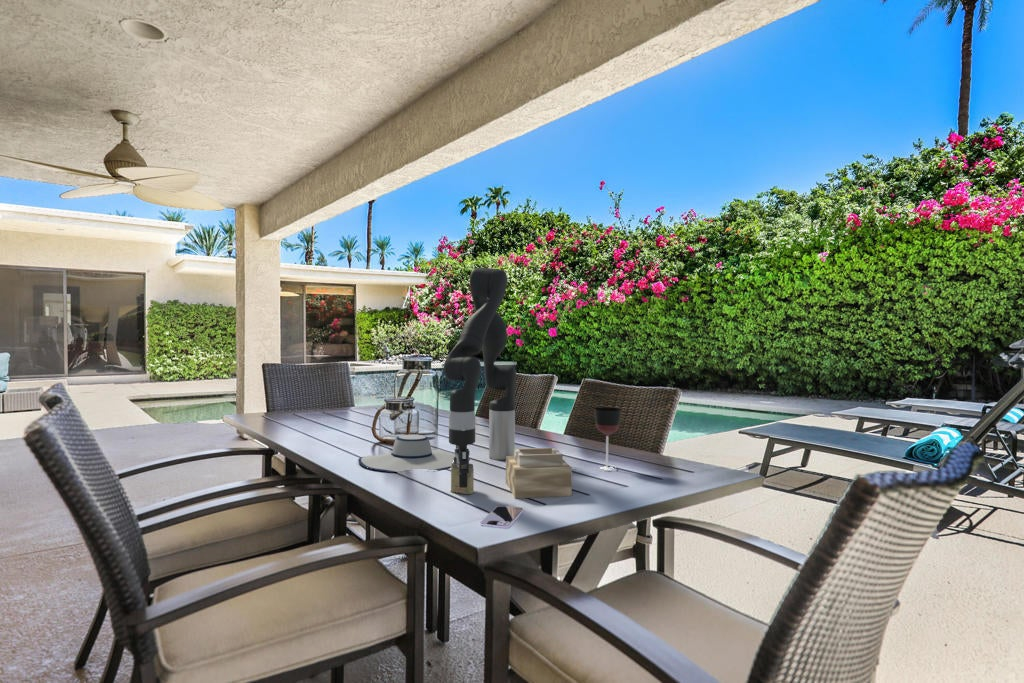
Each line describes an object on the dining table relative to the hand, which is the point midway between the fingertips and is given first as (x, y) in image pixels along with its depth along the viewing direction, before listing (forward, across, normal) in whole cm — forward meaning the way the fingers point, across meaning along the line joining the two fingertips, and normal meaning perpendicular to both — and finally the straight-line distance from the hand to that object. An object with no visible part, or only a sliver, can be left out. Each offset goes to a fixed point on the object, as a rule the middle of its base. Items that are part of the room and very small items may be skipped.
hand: (461, 483), depth 166 cm
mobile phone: (+3, +23, +8) cm, 25 cm away
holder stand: (+3, 0, +22) cm, 22 cm away
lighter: (+3, 0, 0) cm, 3 cm away
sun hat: (+4, -42, -14) cm, 44 cm away
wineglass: (+3, -20, +50) cm, 54 cm away
